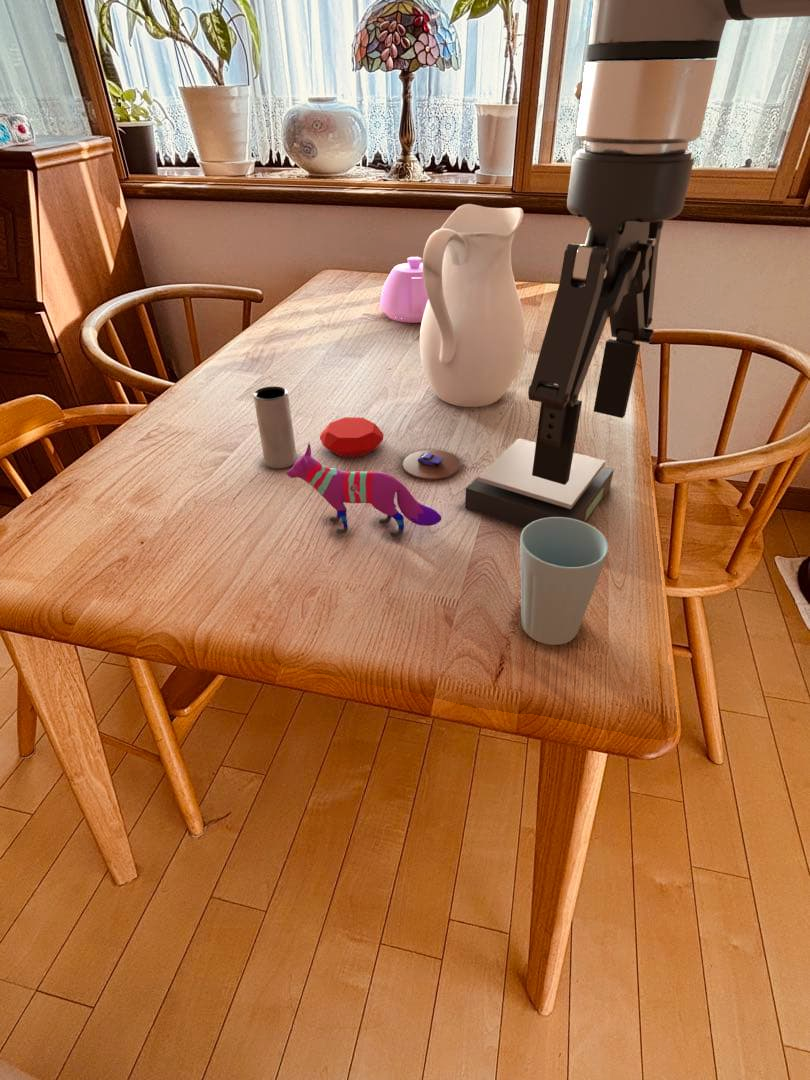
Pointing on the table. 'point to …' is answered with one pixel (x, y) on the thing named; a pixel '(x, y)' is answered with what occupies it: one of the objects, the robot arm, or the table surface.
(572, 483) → the scale
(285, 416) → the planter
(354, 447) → the gemstone
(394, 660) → the table surface
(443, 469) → the round wooden coaster
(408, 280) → the teapot
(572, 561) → the cup
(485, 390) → the pitcher
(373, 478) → the fox figurine
